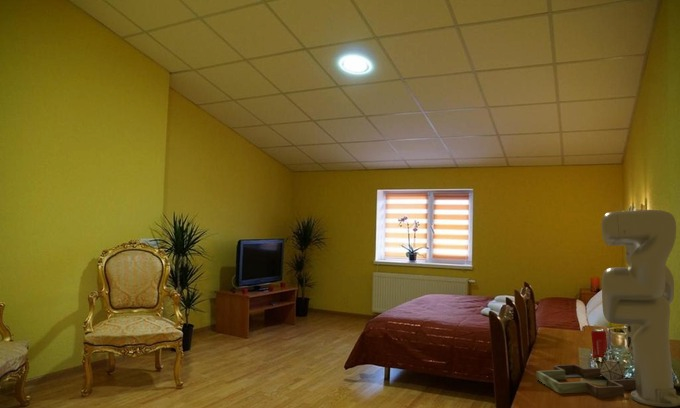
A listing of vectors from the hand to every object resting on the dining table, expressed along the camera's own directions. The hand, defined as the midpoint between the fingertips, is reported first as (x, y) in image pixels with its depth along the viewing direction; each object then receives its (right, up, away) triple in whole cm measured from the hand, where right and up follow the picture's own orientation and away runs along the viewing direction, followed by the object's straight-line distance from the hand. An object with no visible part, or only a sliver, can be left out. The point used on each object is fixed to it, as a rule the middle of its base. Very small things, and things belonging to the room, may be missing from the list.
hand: (646, 371), depth 158 cm
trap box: (-20, -4, -2) cm, 20 cm away
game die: (-12, -4, -1) cm, 12 cm away
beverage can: (-1, -6, +27) cm, 27 cm away
